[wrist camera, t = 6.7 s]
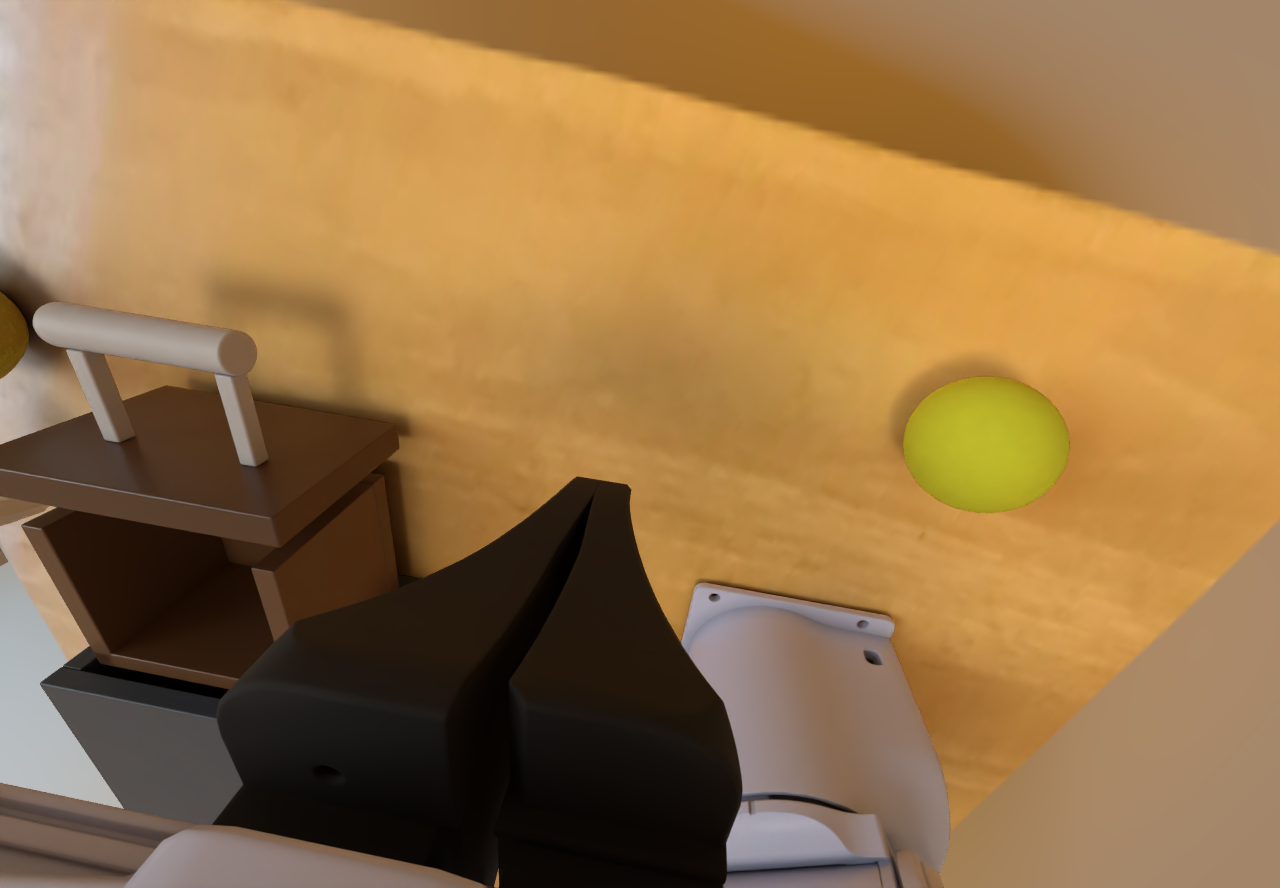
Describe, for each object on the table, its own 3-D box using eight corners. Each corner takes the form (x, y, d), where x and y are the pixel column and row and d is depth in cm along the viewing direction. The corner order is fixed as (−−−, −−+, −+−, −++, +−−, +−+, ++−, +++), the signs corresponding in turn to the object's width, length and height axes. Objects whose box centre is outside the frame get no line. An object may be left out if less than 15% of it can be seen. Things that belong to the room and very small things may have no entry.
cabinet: (228, 542, 27) (37, 683, 19) (436, 581, 26) (325, 741, 18) (272, 672, 32) (134, 826, 24) (447, 707, 31) (363, 875, 23)
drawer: (126, 271, 19) (-140, 308, 13) (384, 312, 19) (230, 369, 13) (224, 554, 26) (77, 665, 20) (416, 590, 25) (325, 715, 19)
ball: (1042, 369, 18) (1143, 422, 14) (984, 478, 20) (1056, 552, 16) (911, 349, 18) (972, 396, 14) (868, 459, 20) (910, 527, 16)
